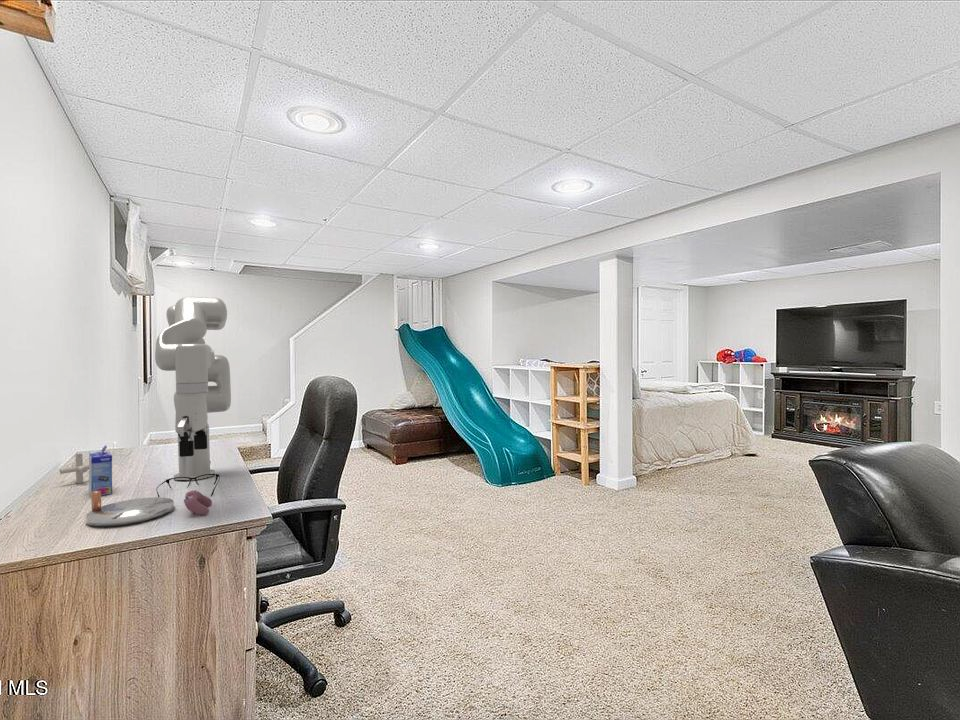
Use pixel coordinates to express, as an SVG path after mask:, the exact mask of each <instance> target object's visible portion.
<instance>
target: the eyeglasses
mask: <svg viewBox="0 0 960 720" xmlns="http://www.w3.org/2000/svg"><path fill="white" fill-rule="evenodd" d="M205 475H213V476H215V481H214V483H213V484H214V487H213V489H212V491H211V494H210V497H213V496H214V493H215V490H216V489H217V486H218V484H219V482H220V479H221V478H220V477H221V474H220V473H215V474H205ZM205 475H201V476H205ZM201 476H197V477H193V478H190V477H176V478H188V479H190V481H188V482H189V483H188V485H187V486H188V487H189V486H190V485H192V481H193V480H192V479H195V480H194V481H195V484H196V485H197V486H198V485H200V484H199V482H198V480H197V478H198V477H201ZM176 478H174V477H171V478H166V479H165V480H164V481H162V482H161V483H160V484H159V485H158V486H157V487H156V495H157V497H160V494H159V492H158V489H159V487H161V486H162V485H163V484H165V483H167V485H168V486H169V489H171V488H172V486H171V484H170V481H171V480H174V479H176ZM216 482H217V483H216ZM215 484H216V485H215ZM212 495H213V496H212Z"/></svg>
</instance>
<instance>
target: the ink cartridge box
mask: <svg viewBox="0 0 960 720" xmlns="http://www.w3.org/2000/svg"><path fill="white" fill-rule="evenodd" d="M106 449H107V445H104V446H103V447H102V449H101V451H97V452H90V453H88V464H89V469H88V491H89V495H90V496H91V492H93V491H98V490H100V491H101V496H106V495H112V494H113V455H112V454H111V452H110V451H106Z"/></svg>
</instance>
